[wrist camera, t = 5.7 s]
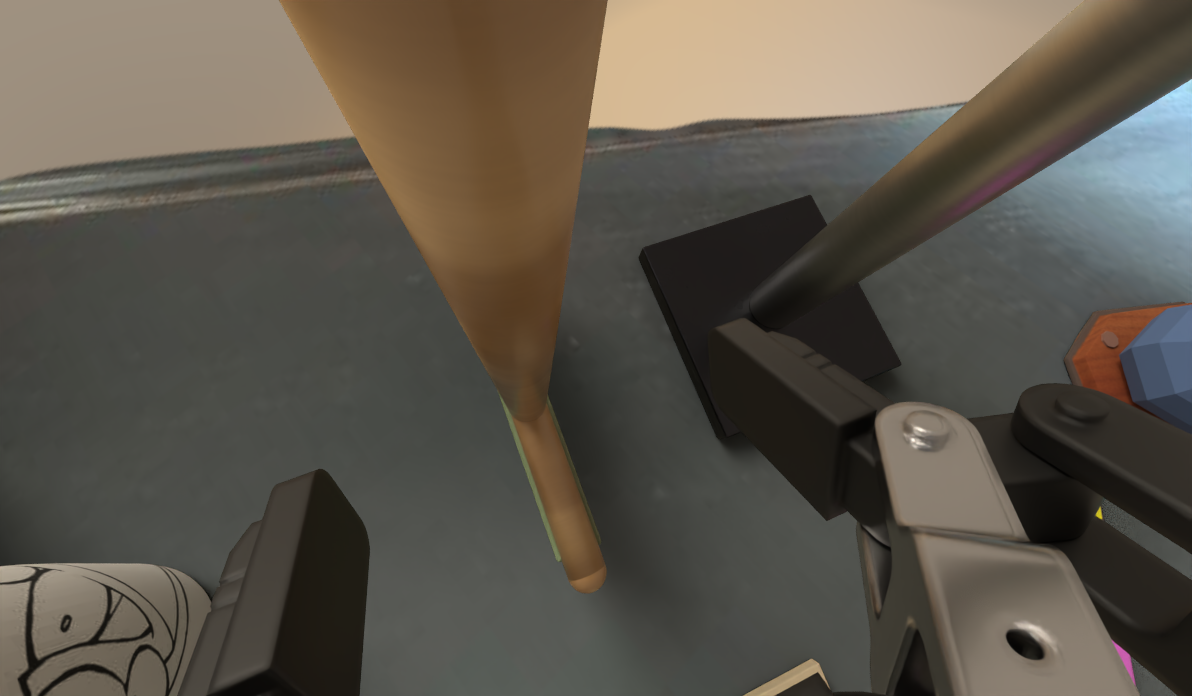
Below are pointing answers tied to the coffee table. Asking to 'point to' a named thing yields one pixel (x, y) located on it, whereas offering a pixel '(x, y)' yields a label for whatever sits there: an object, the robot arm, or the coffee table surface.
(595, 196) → the coffee table surface
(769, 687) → the mat
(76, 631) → the mug
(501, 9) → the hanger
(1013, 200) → the coffee table surface
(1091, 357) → the model
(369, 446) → the coffee table surface
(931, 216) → the rail stand
